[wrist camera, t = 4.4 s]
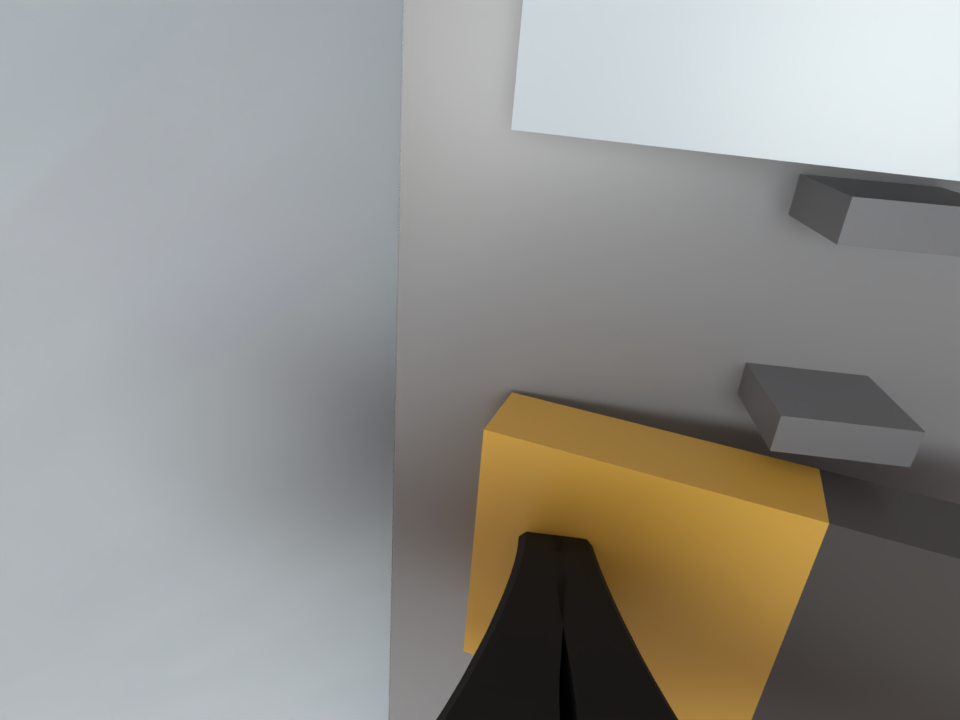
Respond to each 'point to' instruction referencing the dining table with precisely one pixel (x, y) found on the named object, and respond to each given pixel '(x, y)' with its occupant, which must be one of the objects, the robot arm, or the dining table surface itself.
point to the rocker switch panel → (639, 310)
